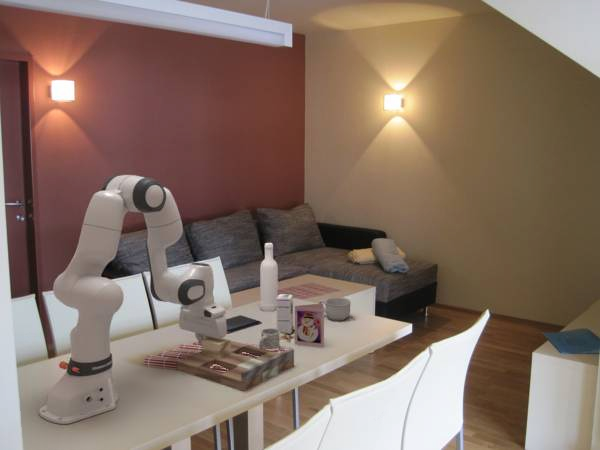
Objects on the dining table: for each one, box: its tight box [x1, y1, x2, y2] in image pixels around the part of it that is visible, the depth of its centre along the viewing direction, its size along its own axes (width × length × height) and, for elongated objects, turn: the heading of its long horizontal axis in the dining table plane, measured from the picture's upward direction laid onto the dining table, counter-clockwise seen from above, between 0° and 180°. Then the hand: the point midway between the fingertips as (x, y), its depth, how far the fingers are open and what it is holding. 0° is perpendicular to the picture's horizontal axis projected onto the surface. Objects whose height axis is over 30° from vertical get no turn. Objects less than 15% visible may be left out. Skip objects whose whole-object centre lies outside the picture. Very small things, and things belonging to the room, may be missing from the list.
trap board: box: [176, 340, 295, 392], centre depth 216 cm, size 26×30×6 cm
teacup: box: [318, 296, 352, 322], centre depth 271 cm, size 14×11×8 cm
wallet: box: [226, 314, 263, 335], centre depth 262 cm, size 20×2×15 cm
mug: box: [258, 328, 280, 350], centre depth 233 cm, size 10×7×7 cm, turn 149°
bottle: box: [259, 242, 279, 312], centre depth 282 cm, size 8×8×30 cm
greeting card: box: [294, 302, 325, 348], centre depth 239 cm, size 11×7×15 cm, turn 73°
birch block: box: [201, 337, 232, 358], centre depth 220 cm, size 6×8×5 cm
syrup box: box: [276, 293, 294, 334], centre depth 253 cm, size 6×6×14 cm
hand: (202, 345), depth 224 cm, fingers closed
